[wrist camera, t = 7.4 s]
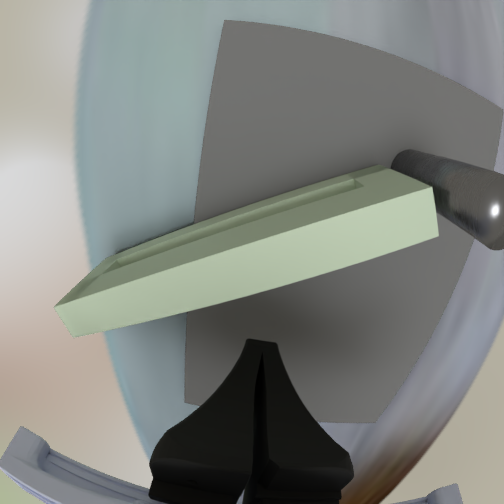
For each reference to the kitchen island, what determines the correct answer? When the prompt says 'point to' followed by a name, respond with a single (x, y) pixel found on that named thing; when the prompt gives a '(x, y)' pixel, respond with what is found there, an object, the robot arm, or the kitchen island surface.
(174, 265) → the pale green slotted bar
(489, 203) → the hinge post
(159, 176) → the kitchen island surface
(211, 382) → the mat
